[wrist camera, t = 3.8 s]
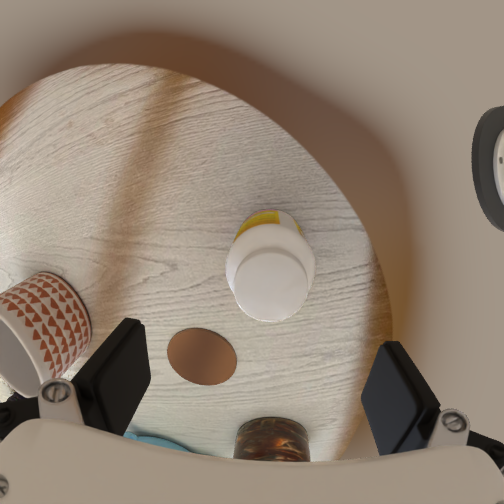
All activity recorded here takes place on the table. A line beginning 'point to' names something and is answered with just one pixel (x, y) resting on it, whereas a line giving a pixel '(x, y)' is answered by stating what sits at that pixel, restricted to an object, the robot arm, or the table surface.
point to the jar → (272, 441)
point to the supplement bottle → (270, 266)
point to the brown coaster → (202, 356)
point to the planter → (40, 332)
